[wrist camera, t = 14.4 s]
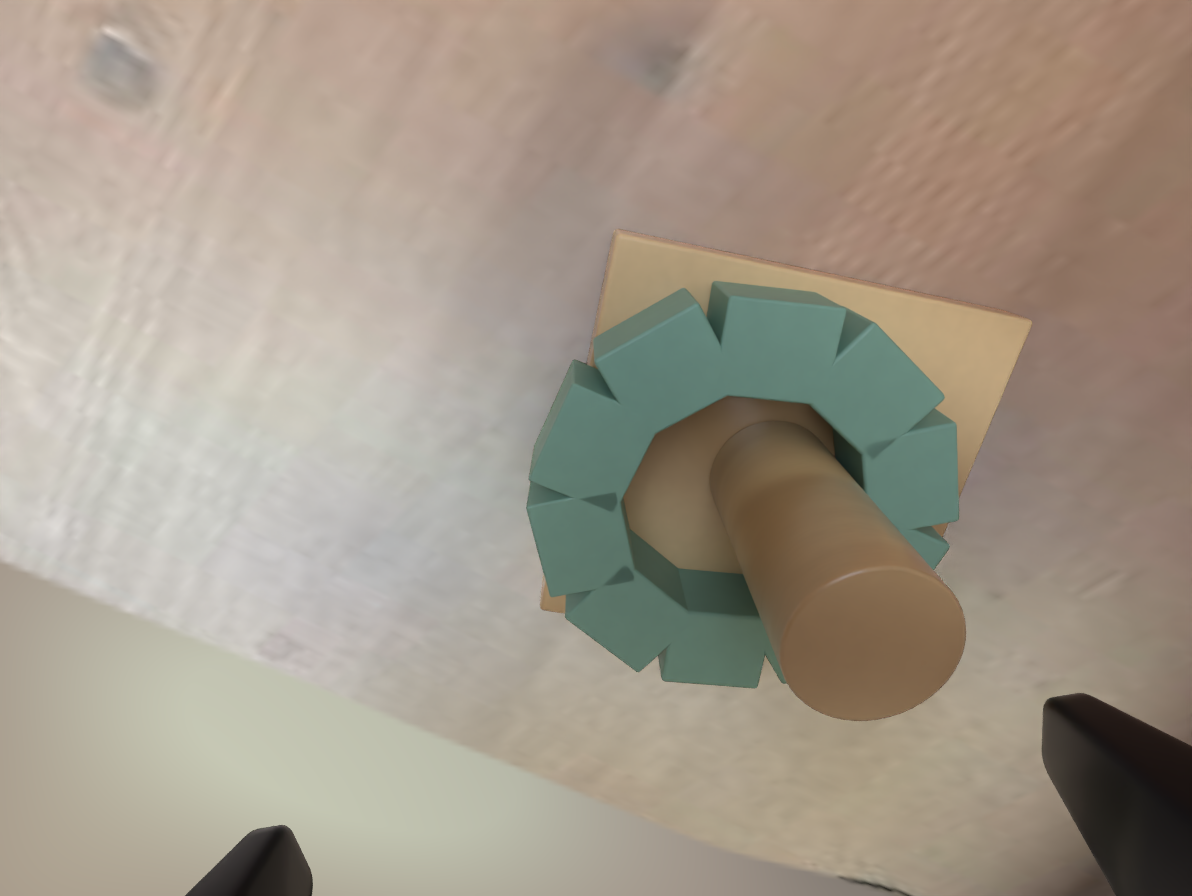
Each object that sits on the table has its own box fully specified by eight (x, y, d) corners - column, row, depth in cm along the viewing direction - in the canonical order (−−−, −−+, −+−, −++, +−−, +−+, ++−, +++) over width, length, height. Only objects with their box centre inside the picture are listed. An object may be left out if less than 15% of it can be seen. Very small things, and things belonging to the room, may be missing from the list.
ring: (909, 239, 14) (954, 249, 12) (926, 605, 17) (964, 653, 15) (494, 326, 14) (482, 347, 13) (582, 667, 17) (582, 720, 16)
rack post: (870, 637, 19) (1033, 901, 12) (541, 583, 18) (516, 833, 11) (1003, 310, 16) (1321, 417, 9) (614, 228, 15) (640, 277, 8)
